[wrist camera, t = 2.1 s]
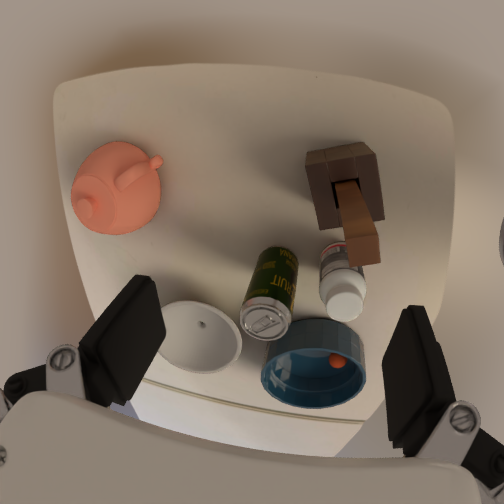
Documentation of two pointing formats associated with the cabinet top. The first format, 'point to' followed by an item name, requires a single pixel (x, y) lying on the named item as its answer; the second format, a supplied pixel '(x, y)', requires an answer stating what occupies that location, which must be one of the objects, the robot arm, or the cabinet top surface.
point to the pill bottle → (341, 284)
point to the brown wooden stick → (357, 225)
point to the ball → (337, 360)
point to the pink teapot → (117, 189)
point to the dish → (199, 337)
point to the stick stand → (342, 168)
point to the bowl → (314, 365)
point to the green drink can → (270, 295)
